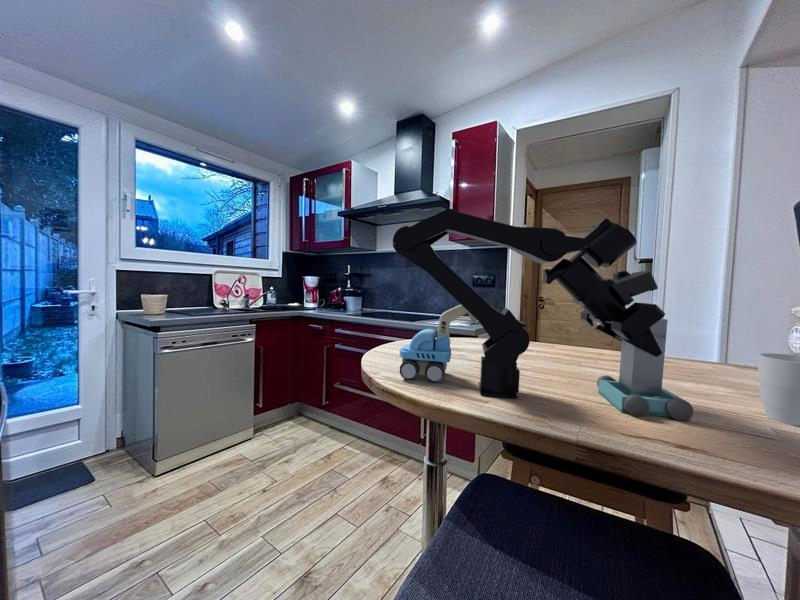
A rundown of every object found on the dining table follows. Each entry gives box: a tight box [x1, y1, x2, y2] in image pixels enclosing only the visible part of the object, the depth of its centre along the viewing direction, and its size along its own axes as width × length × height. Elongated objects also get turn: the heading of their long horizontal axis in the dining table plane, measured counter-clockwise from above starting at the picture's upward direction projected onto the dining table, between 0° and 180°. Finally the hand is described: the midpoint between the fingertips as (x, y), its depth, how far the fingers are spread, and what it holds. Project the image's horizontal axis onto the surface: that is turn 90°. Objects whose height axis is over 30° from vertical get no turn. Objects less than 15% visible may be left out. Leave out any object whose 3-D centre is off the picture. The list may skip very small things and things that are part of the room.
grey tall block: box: [618, 318, 669, 397], centre depth 56 cm, size 4×4×13 cm
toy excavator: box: [399, 304, 478, 384], centre depth 69 cm, size 9×17×17 cm, turn 78°
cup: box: [757, 352, 800, 427], centre depth 51 cm, size 8×8×10 cm
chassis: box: [596, 374, 694, 422], centre depth 56 cm, size 10×12×3 cm
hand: (650, 351), depth 56 cm, fingers closed on grey tall block, 4 cm apart
